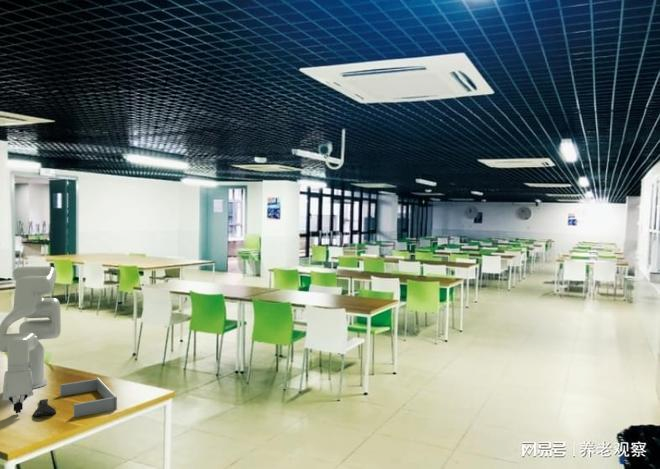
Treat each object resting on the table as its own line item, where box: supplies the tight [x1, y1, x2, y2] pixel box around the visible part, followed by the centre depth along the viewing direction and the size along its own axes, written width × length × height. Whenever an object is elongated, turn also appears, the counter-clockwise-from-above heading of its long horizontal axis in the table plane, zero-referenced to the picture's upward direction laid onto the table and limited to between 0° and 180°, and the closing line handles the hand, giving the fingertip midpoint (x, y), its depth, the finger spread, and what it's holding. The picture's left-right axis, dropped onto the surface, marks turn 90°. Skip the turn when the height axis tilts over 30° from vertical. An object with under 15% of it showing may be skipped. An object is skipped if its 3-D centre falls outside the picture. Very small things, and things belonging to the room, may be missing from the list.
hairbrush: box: [32, 398, 57, 418], centre depth 212 cm, size 8×4×25 cm
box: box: [59, 377, 118, 418], centre depth 222 cm, size 32×16×6 cm, turn 37°
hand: (18, 411), depth 206 cm, fingers closed
